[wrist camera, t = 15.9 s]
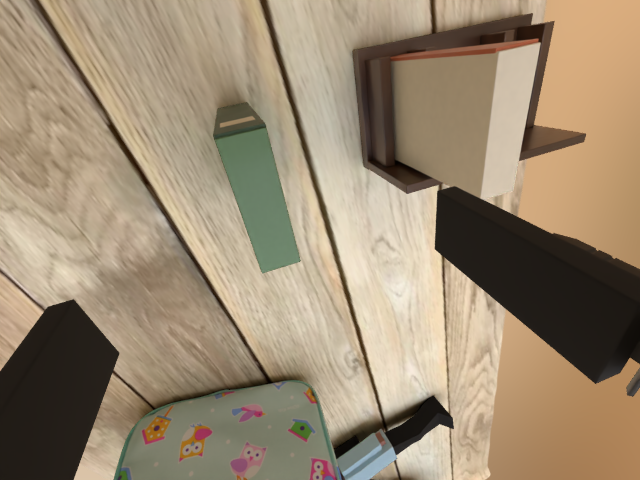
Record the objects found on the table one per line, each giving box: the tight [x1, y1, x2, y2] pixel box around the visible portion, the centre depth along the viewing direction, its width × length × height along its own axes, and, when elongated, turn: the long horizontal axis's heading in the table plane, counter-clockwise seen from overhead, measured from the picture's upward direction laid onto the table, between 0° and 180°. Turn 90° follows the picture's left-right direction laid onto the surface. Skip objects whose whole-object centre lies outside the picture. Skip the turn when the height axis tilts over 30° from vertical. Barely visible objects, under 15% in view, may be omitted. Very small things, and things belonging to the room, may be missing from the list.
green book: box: [213, 102, 301, 273], centre depth 23 cm, size 9×3×14 cm, turn 10°
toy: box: [334, 396, 454, 480], centre depth 59 cm, size 10×8×30 cm
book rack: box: [353, 13, 586, 194], centre depth 27 cm, size 11×18×9 cm, turn 100°
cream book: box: [390, 39, 541, 200], centre depth 23 cm, size 9×3×14 cm, turn 10°
